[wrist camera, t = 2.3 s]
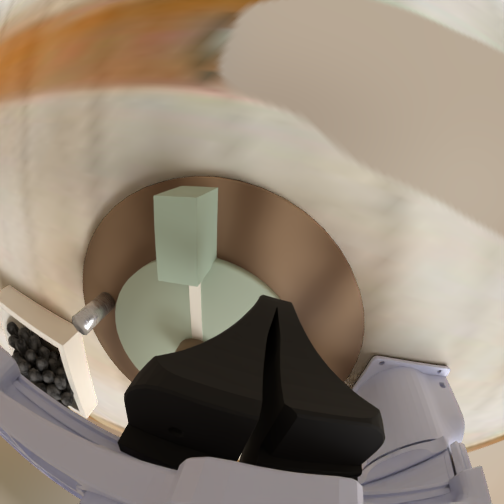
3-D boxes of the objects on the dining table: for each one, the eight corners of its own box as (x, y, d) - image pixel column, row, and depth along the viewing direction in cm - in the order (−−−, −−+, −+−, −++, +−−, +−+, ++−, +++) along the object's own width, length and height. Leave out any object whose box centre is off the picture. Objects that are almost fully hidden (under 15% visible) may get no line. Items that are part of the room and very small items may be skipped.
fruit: (-21, 351, 21) (53, 436, 22) (-9, 315, 21) (73, 412, 22) (14, 333, 30) (78, 404, 31) (30, 299, 29) (101, 378, 31)
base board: (412, 233, 17) (451, 266, 12) (300, 437, 27) (297, 479, 21) (93, 152, 19) (39, 159, 13) (100, 370, 28) (75, 402, 23)
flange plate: (285, 413, 23) (281, 445, 19) (137, 382, 25) (121, 407, 21) (323, 196, 16) (330, 209, 12) (105, 184, 18) (70, 194, 14)
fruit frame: (81, 328, 26) (63, 345, 23) (98, 403, 32) (86, 418, 28) (9, 284, 27) (-8, 295, 24) (31, 359, 33) (19, 371, 29)
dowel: (120, 290, 23) (87, 320, 18) (121, 306, 24) (89, 338, 19) (105, 284, 23) (70, 312, 18) (105, 300, 24) (73, 329, 19)
